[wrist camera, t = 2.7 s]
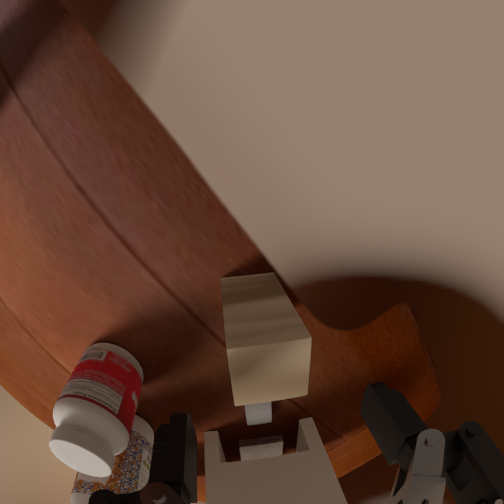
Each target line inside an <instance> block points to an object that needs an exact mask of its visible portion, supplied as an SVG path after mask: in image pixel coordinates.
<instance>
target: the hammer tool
mask: <svg viewBox="0 0 504 504" xmlns="http://www.w3.org/2000/svg"><path fill="white" fill-rule="evenodd" d="M221 289H222V302H223V315H224V327H225V338H226V349H227V356H228V364H229V371H230V378H231V384H232V391H233V398H234V404H235V406H241V405H245V413H246V420H247V425H255V424H263V423H269V422H272V409H271V401H277V400H283V399H289V398H294V397H300V396H305V395H307V394H308V382H309V370H310V355H311V339H312V337H311V336H310V334H309V332H308V331H307V329H306V327H305V325H304V324H303V322H302V320H301V318H300V317H299V315H298V313H297V311H296V310H295V308H294V306H293V305H292V303H291V301H290V299H289V298H288V296H287V294H286V292H285V291H284V289H283V287H282V286H281V284H280V282H279V280H278V279H277V277H276V275H275V274H274V272H273V273H264V274H254V275H244V276H234V277H224V278H221Z"/></svg>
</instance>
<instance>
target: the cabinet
mask: <svg viewBox="0 0 504 504" xmlns="http://www.w3.org/2000/svg"><path fill="white" fill-rule="evenodd" d="M204 451H205V480H206V500H207V504H347V502H346V499H345V497H344V494H343V492H342V489H341V487H340V485H339V482H338V480H337V477H336V475H335V472H334V470H333V467H332V465H331V463H330V460H329V458H328V455H327V453H326V450H325V448H324V445H323V443H322V441H321V438H320V436H319V433H318V431H317V428H316V426H315V423H314V421H313V418H312V417H310V418H305V419H300V420H299V426H298V437H297V447H296V453H292V454H286V455H281V456H275V457H269V458H262V459H255V460H246V461H237V462H226V459H225V456H224V452H223V449H222V445H221V441H220V438H219V434H218V431H207V432H204Z"/></svg>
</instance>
